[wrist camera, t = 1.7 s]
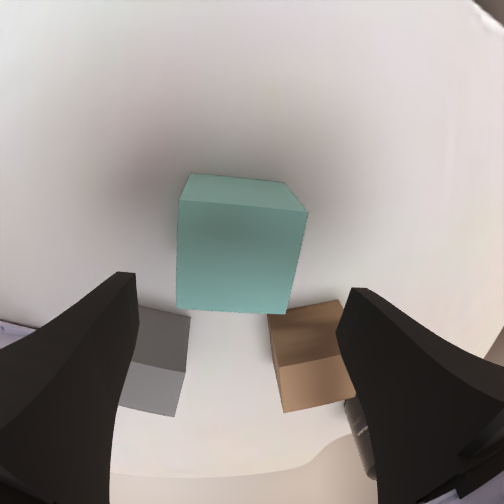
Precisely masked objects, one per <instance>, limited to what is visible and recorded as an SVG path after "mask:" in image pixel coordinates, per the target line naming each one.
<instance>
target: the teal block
mask: <svg viewBox="0 0 504 504" xmlns="http://www.w3.org/2000/svg"><path fill="white" fill-rule="evenodd" d="M307 217H308V211H307V210H306V209H305V207H304V206H303V205H302V204H301V202H300V201H299V200H298V199H297V198H296V196H295V195H294V194H293V193H292V192H291V190H290V189H289V188H288V187H287V186H286V184H285V183H282V182H274V181H266V180H257V179H248V178H238V177H228V176H217V175H205V174H192V173H191V175H190V177H189V179H188V181H187V183H186V185H185V188H184V190H183V192H182V194H181V196H180V199H179V208H178V230H177V268H176V308H179V309H192V310H206V311H221V312H239V313H261V314H285V313H286V309H287V305H288V301H289V297H290V293H291V289H292V284H293V280H294V276H295V272H296V267H297V263H298V258H299V254H300V249H301V245H302V240H303V236H304V231H305V226H306V222H307Z"/></svg>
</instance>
